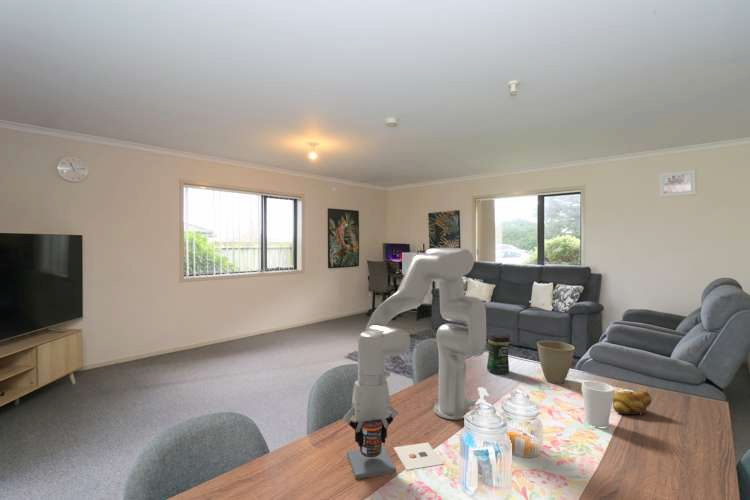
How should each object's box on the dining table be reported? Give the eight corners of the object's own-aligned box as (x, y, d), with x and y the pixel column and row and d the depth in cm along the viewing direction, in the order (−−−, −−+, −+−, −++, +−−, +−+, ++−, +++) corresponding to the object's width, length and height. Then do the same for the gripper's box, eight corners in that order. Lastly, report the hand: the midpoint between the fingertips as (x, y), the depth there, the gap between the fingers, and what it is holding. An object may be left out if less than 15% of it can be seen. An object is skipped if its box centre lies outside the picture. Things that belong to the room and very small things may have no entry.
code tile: (427, 442, 111) (427, 442, 111) (444, 463, 100) (444, 463, 100) (393, 447, 108) (393, 447, 108) (406, 470, 98) (406, 469, 98)
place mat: (383, 449, 107) (383, 445, 107) (395, 472, 97) (395, 468, 97) (347, 454, 104) (347, 451, 104) (355, 478, 94) (355, 475, 94)
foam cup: (577, 423, 124) (578, 385, 123) (584, 414, 131) (585, 378, 130) (610, 434, 117) (611, 394, 117) (615, 423, 124) (616, 385, 124)
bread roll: (624, 418, 128) (625, 396, 128) (601, 406, 137) (602, 385, 137) (654, 415, 130) (655, 393, 130) (630, 403, 140) (630, 383, 140)
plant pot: (580, 387, 155) (581, 350, 155) (545, 386, 155) (546, 349, 155) (563, 374, 170) (563, 340, 170) (531, 374, 170) (531, 340, 170)
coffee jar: (493, 375, 168) (494, 335, 168) (484, 369, 176) (485, 331, 175) (512, 373, 171) (512, 334, 170) (502, 368, 178) (502, 330, 178)
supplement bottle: (365, 461, 96) (366, 418, 96) (356, 449, 102) (356, 409, 101) (385, 455, 99) (385, 413, 99) (375, 444, 104) (375, 405, 104)
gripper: (396, 370, 106) (396, 431, 106) (338, 375, 101) (337, 439, 102) (405, 379, 99) (405, 445, 99) (343, 385, 94) (342, 454, 95)
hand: (370, 441), depth 100 cm, fingers closed on supplement bottle, 6 cm apart
